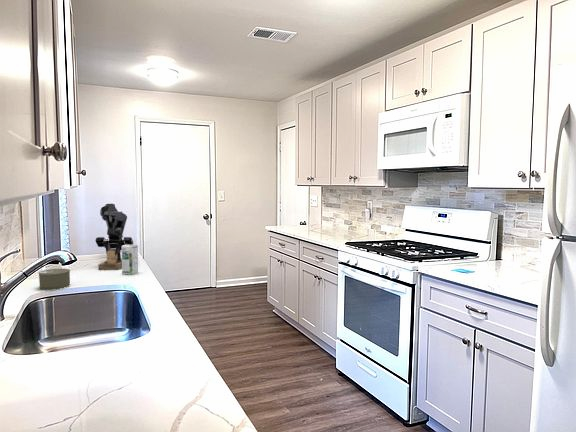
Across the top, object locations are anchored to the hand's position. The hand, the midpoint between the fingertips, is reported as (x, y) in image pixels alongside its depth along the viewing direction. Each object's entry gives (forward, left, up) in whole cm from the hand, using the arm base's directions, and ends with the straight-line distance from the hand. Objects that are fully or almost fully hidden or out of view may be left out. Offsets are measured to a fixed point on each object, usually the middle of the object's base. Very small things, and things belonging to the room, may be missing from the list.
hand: (111, 254), depth 217 cm
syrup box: (+17, +8, -8) cm, 20 cm away
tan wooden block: (-1, 0, -7) cm, 7 cm away
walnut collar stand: (-1, 0, -7) cm, 8 cm away
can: (+32, -23, -8) cm, 40 cm away
